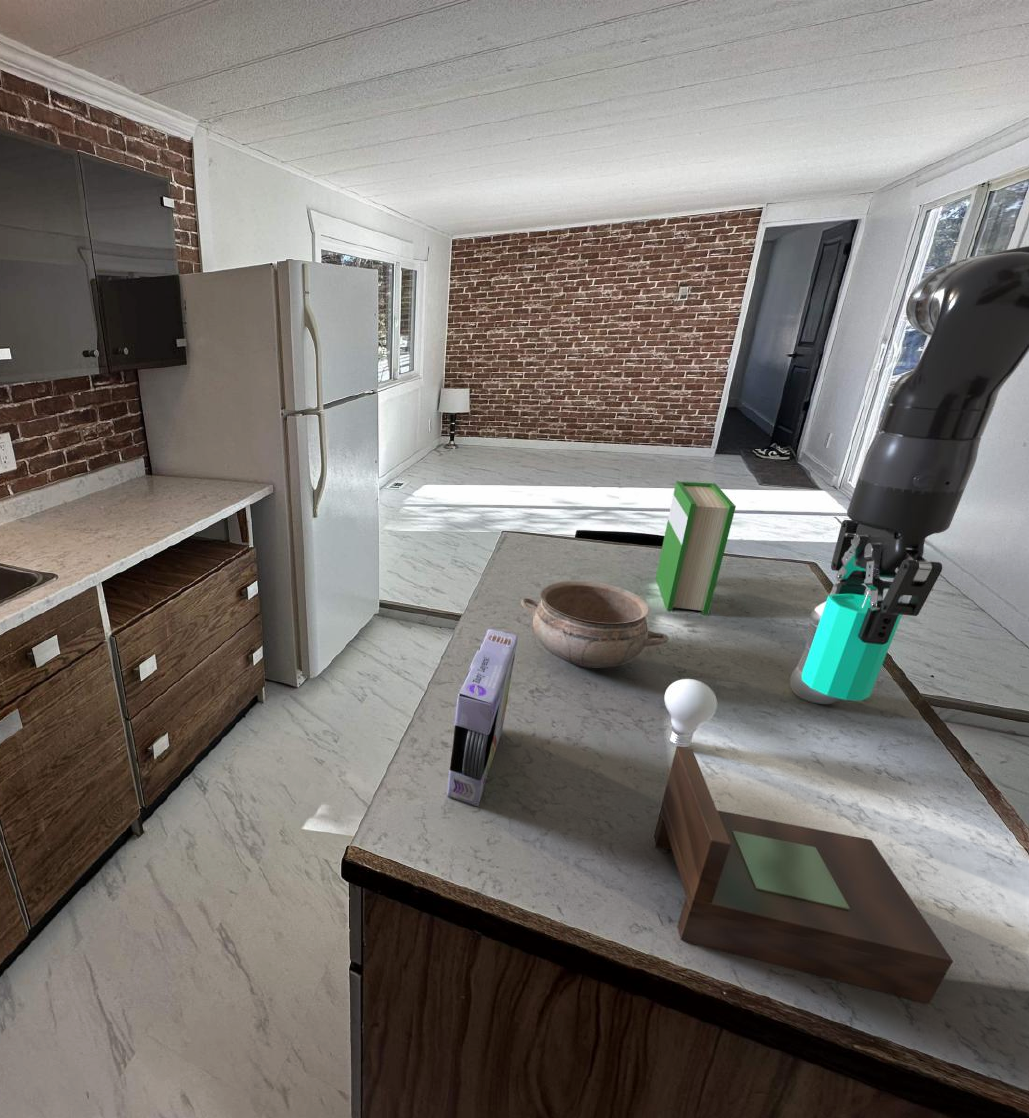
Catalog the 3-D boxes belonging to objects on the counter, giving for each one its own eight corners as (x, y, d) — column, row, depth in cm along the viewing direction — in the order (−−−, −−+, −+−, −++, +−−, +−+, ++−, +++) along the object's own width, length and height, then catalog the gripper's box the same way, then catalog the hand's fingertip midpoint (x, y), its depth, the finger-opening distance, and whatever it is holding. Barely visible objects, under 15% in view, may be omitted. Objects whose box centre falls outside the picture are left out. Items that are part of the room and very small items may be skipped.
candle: (811, 694, 67) (845, 599, 62) (793, 667, 72) (822, 576, 67) (880, 705, 64) (920, 606, 60) (856, 676, 70) (891, 583, 65)
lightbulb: (652, 726, 93) (667, 666, 89) (701, 737, 90) (718, 675, 86) (656, 752, 88) (671, 689, 84) (707, 763, 85) (725, 699, 81)
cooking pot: (497, 658, 113) (503, 600, 108) (534, 620, 126) (541, 567, 121) (645, 707, 97) (660, 642, 93) (670, 658, 110) (684, 599, 106)
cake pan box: (479, 815, 78) (492, 703, 72) (442, 802, 81) (450, 693, 74) (506, 730, 94) (519, 632, 87) (474, 721, 96) (483, 625, 89)
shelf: (854, 878, 67) (896, 782, 62) (929, 1004, 55) (990, 898, 50) (653, 836, 74) (676, 746, 69) (680, 940, 62) (711, 840, 57)
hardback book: (707, 615, 125) (735, 506, 116) (667, 610, 128) (691, 503, 119) (691, 582, 140) (715, 483, 131) (655, 578, 142) (676, 481, 133)
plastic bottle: (842, 714, 94) (885, 600, 86) (787, 701, 97) (824, 591, 90) (835, 693, 99) (875, 584, 91) (783, 682, 102) (818, 576, 95)
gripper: (1013, 501, 51) (940, 667, 58) (918, 463, 64) (866, 603, 70) (902, 496, 54) (843, 655, 60) (831, 461, 66) (789, 596, 73)
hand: (856, 626), depth 65 cm, fingers closed on candle, 6 cm apart
